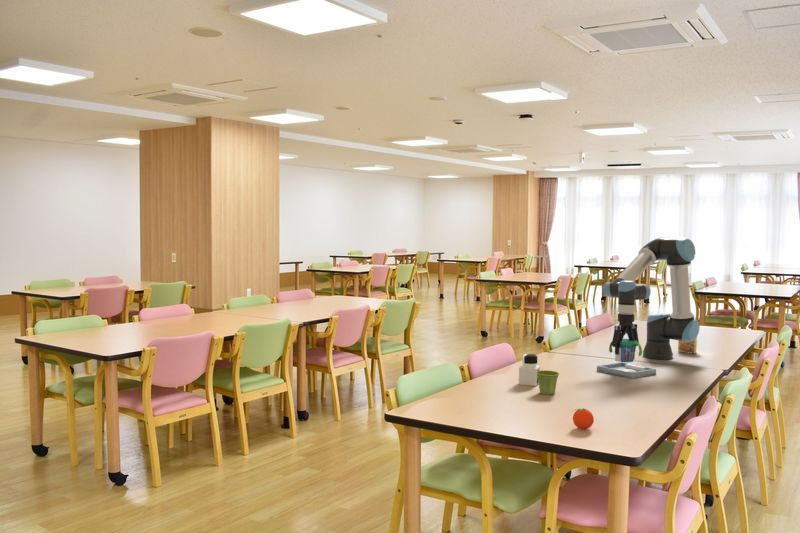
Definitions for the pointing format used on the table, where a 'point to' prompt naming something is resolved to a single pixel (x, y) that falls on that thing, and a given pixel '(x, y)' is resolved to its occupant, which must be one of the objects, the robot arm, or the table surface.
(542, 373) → the plant pot
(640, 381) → the table surface
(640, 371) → the meal tray
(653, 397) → the table surface
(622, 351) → the snack cup
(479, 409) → the table surface
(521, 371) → the container
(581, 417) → the tomato
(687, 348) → the candy box
